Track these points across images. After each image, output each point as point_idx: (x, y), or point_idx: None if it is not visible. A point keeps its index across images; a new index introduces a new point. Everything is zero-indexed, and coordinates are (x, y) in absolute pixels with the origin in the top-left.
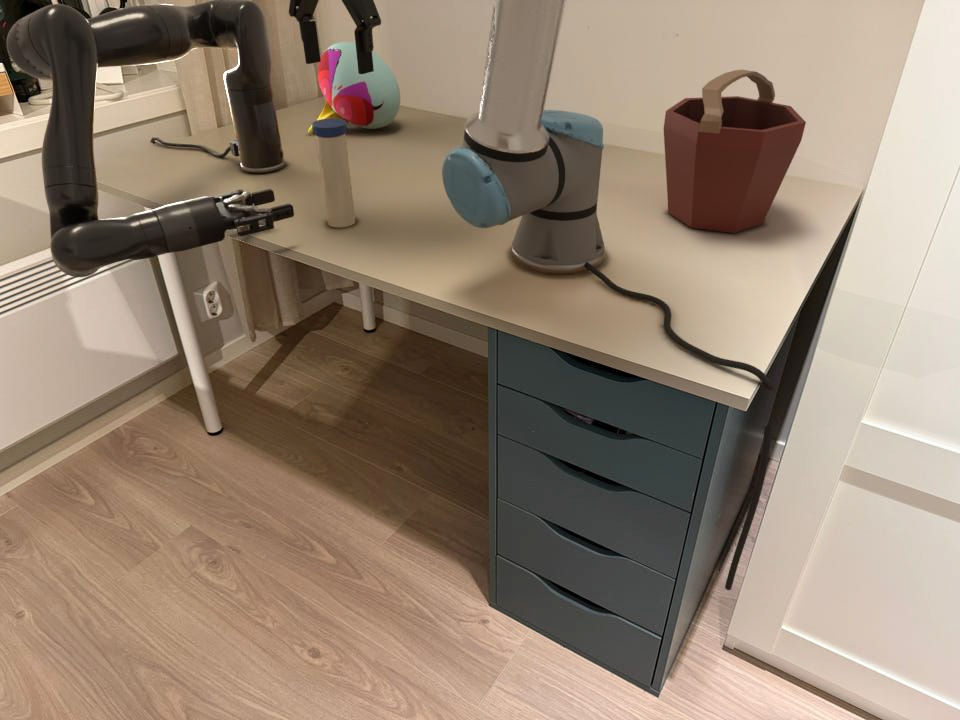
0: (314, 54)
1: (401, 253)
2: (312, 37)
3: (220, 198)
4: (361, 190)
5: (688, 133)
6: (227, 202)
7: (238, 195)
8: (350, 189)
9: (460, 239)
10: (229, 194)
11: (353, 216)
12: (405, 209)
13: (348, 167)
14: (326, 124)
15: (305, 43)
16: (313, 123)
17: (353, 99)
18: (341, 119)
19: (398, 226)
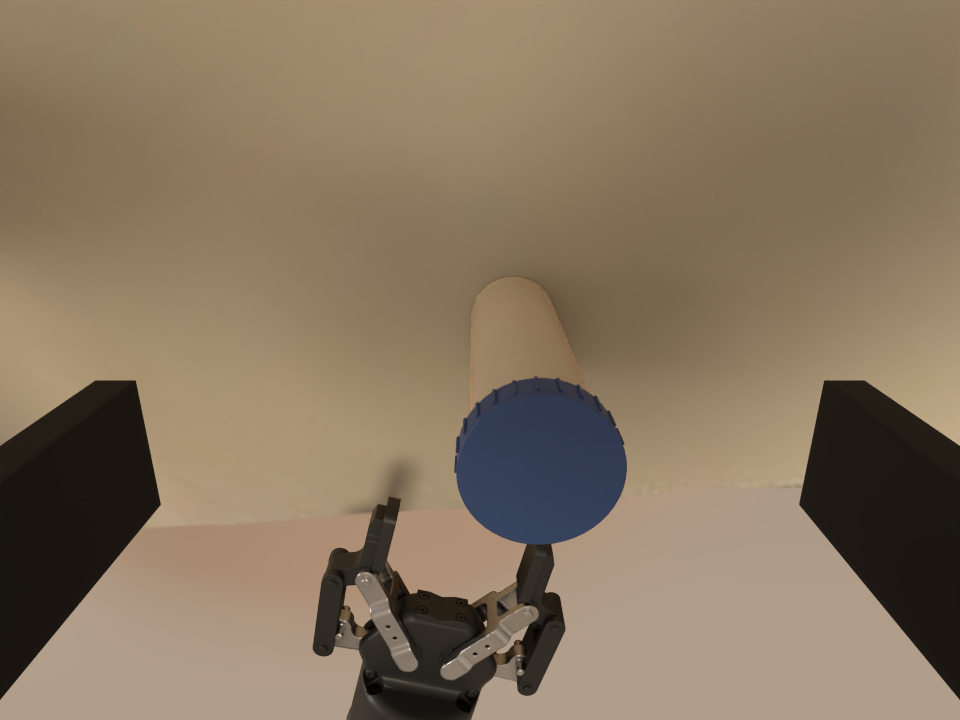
0: (111, 473)
1: (806, 354)
2: (2, 575)
3: (342, 638)
4: (338, 70)
5: None
6: (416, 666)
7: (385, 620)
8: (564, 332)
9: (913, 176)
10: (337, 614)
11: (553, 305)
12: (607, 103)
13: (573, 355)
14: (550, 495)
15: (54, 626)
16: (486, 521)
17: None
18: (546, 400)
19: (682, 228)
